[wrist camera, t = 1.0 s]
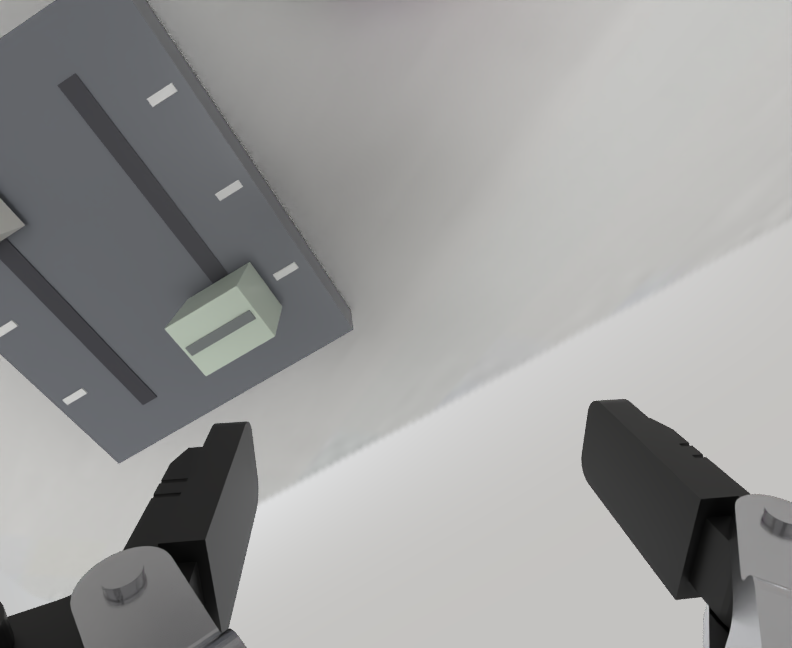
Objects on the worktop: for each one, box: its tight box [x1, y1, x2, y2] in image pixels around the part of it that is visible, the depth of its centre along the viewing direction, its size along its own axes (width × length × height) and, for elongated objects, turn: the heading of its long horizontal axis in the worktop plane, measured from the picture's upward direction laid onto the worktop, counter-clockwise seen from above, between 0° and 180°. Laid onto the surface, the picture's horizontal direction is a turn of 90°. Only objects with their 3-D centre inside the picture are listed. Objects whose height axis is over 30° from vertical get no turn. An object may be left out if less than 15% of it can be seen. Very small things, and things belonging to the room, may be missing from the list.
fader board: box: [0, 0, 353, 463], centre depth 26 cm, size 20×17×3 cm
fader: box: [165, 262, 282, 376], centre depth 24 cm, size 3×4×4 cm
